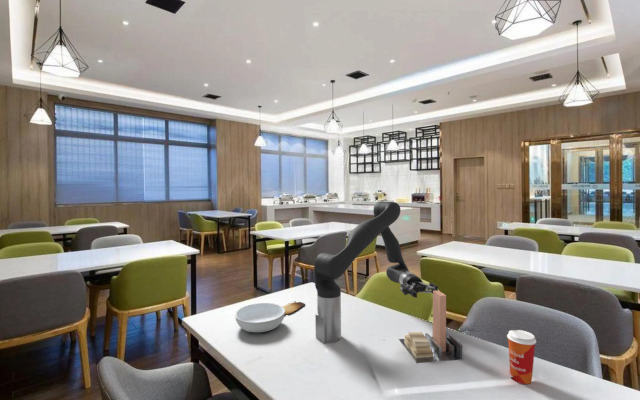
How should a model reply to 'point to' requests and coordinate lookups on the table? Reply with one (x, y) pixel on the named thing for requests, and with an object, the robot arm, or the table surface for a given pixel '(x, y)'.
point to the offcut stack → (418, 344)
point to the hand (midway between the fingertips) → (426, 294)
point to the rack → (440, 350)
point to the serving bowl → (260, 317)
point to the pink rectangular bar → (439, 319)
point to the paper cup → (521, 355)
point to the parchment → (292, 307)
